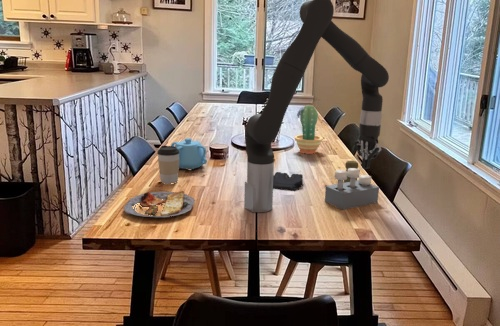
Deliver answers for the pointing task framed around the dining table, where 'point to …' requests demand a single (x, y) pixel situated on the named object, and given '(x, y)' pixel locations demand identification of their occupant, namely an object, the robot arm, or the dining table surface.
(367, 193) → the mount block
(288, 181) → the dark slate chunk
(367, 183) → the knob far
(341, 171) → the knob near
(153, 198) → the food plate
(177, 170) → the coffee cup
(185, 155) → the decorative pot
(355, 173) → the knob middle
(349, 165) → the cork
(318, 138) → the potted cactus
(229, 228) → the dining table surface
